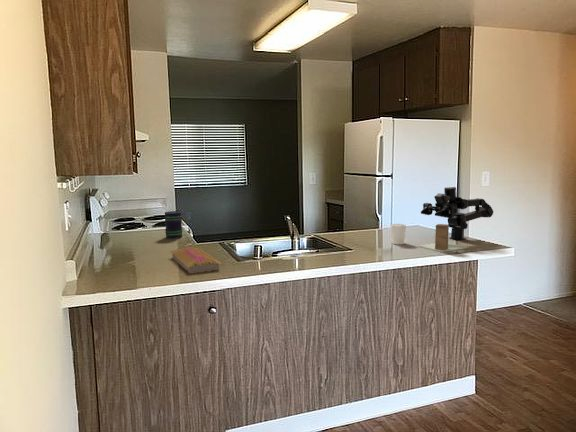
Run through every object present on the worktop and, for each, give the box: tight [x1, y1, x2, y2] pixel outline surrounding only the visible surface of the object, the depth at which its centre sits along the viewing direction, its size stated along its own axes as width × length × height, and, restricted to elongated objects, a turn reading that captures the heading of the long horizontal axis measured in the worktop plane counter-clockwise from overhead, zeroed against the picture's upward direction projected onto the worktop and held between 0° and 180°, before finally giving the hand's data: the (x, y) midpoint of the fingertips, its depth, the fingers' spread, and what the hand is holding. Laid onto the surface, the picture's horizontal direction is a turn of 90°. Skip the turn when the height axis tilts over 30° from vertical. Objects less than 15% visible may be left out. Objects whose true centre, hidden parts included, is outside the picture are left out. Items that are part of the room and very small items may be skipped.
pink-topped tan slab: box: [169, 246, 222, 274], centre depth 211 cm, size 35×14×6 cm, turn 26°
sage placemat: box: [418, 242, 469, 253], centre depth 238 cm, size 18×16×1 cm
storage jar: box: [164, 210, 184, 240], centre depth 275 cm, size 10×10×15 cm
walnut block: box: [434, 223, 450, 250], centre depth 231 cm, size 5×5×12 cm
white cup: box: [390, 223, 407, 245], centre depth 249 cm, size 8×8×10 cm
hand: (427, 213), depth 244 cm, fingers open, 9 cm apart
